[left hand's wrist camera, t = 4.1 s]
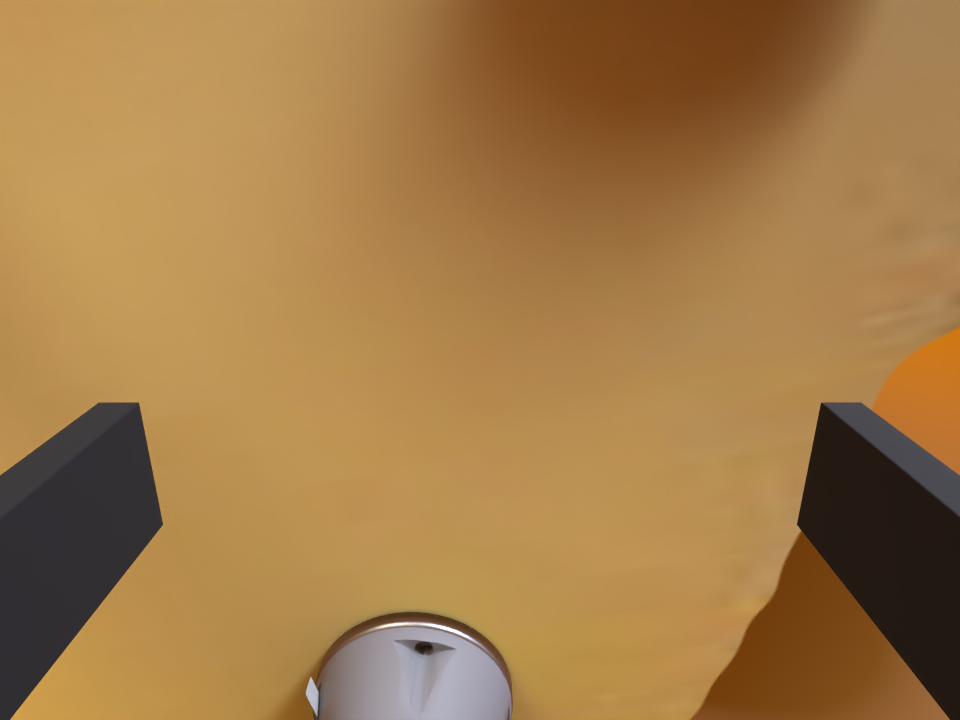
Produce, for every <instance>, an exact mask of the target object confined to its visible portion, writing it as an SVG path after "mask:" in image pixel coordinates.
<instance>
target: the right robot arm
mask: <svg viewBox="0 0 960 720" xmlns="http://www.w3.org/2000/svg"><path fill="white" fill-rule="evenodd" d="M305 694H306V696H307V698H308V700H309V702H310V704H311V706H312V708H313V716H314V720H511V714H512V704H513V703H512V686H511V678H510V673H509V670H508V668H507V665H506V663H505V661H504V659H503V657H502V656H501V654H500V653H499V651H498V650H497V649H496V648H495V646H494V645H493V644H492V643H491V642H490V641H489V640H488V639H486V638H485V637H484V636H483V635H482V634H480V633H479V632H477V631H476V630H474V629H472V628H471V627H469V626H467V625H465V624H463V623H461V622H458V621H456V620H453V619H450V618H447V617H443V616H439V615H434V614H429V613H418V612H406V613H395V614H388V615H384V616H379V617H376V618H373V619H370V620H368V621H365V622H363V623H361V624H359V625H357V626H355V627H353V628H352V629H350V630H349V631H347V632H346V633H344V634H343V635H342V636H341V637H340V638H339V639H338V640H337V641H336V642H335V643H334V644H333V645H332V646H331V647H330V649H329V650H328V652H327V653H326V655H325V657H324V659H323V661H322V663H321V666H320V669H319V673H318V676H317V680H316V683H315V684H314V682H313V680H312V678H311V677H310V680H309V684H308V687H307V690H306V693H305Z"/></svg>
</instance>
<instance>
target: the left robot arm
mask: <svg viewBox="0 0 960 720" xmlns="http://www.w3.org/2000/svg"><path fill="white" fill-rule="evenodd" d="M162 525H163V522H162V517H161V512H160V507H159V502H158V497H157V492H156V487H155V482H154V477H153V472H152V467H151V462H150V457H149V452H148V446H147V441H146V436H145V431H144V426H143V421H142V416H141V411H140V406H139V403H98V404H96V405H95V406H94V407H92V408H91V409H90V410H88V411H87V412H86V413H84V414H83V415H82V416H80V417H79V418H78V419H76V420H75V421H73V422H72V423H71V424H69V425H68V426H67V427H65V428H64V429H63V430H61V431H60V432H59V433H57V434H56V435H55V436H53V437H52V438H50V439H49V440H48V441H46V442H45V443H44V444H42V445H41V446H40V447H38V448H37V449H36V450H34V451H33V452H32V453H30V454H29V455H28V456H26V457H25V458H23V459H22V460H21V461H19V462H18V463H17V464H15V465H14V466H13V467H11V468H10V469H9V470H7V471H6V472H5V473H3V474H2V475H0V720H10V719H11V717H12V716H13V715H14V714H15V712H16V711H17V710H18V709H19V707H20V706H21V705H22V703H23V702H24V701H25V700H26V698H27V697H28V696H29V695H30V693H31V692H32V691H33V689H34V688H35V687H36V686H37V684H38V683H39V682H40V681H41V679H42V678H43V677H44V675H45V674H46V673H47V672H48V670H49V669H50V668H51V667H52V665H53V664H54V663H55V661H56V660H57V659H58V658H59V656H60V655H61V654H62V653H63V651H64V650H65V649H66V647H67V646H68V645H69V644H70V642H71V641H72V640H73V639H74V637H75V636H76V635H77V633H78V632H79V631H80V630H81V628H82V627H83V626H84V625H85V623H86V622H87V621H88V619H89V618H90V617H91V616H92V614H93V613H94V612H95V611H96V609H97V608H98V607H99V605H100V604H101V603H102V602H103V600H104V599H105V598H106V597H107V595H108V594H109V593H110V591H111V590H112V589H113V588H114V586H115V585H116V584H117V583H118V581H119V580H120V579H121V577H122V576H123V575H124V574H125V572H126V571H127V570H128V569H129V567H130V566H131V565H132V563H133V562H134V561H135V560H136V558H137V557H138V556H139V555H140V553H141V552H142V551H143V549H144V548H145V547H146V546H147V544H148V543H149V542H150V540H151V539H152V538H153V537H154V535H155V534H156V533H157V532H158V530H159V529H160V528H161V526H162ZM797 525H798V526H799V528H800V529H801V530H802V532H803V533H804V534H805V535H806V537H807V538H808V539H809V540H810V542H811V543H812V544H813V546H814V547H815V548H816V549H817V551H818V552H819V553H820V554H821V556H822V557H823V558H824V560H825V561H826V562H827V563H828V565H829V566H830V567H831V569H832V570H833V571H834V572H835V574H836V575H837V576H838V577H839V579H840V580H841V581H842V582H843V584H844V585H845V586H846V588H847V589H848V590H849V591H850V593H851V594H852V595H853V596H854V598H855V599H856V600H857V602H858V603H859V604H860V605H861V607H862V608H863V609H864V610H865V612H866V613H867V614H868V616H869V617H870V618H871V619H872V621H873V622H874V623H875V625H876V626H877V627H878V628H879V630H880V631H881V632H882V633H883V635H884V636H885V637H886V639H887V640H888V641H889V642H890V644H891V645H892V646H893V647H894V649H895V650H896V651H897V652H898V654H899V655H900V656H901V658H902V659H903V660H904V661H905V663H906V664H907V665H908V667H909V668H910V669H911V670H912V672H913V673H914V674H915V675H916V677H917V678H918V679H919V681H920V682H921V683H922V684H923V686H924V687H925V688H926V689H927V691H928V692H929V693H930V695H931V696H932V697H933V698H934V700H935V701H936V702H937V703H938V705H939V706H940V707H941V709H942V710H943V711H944V712H945V714H946V715H947V716H948V717H949V719H950V720H960V475H958V474H957V473H955V472H954V471H953V470H951V469H950V468H949V467H947V466H946V465H945V464H943V463H942V462H941V461H939V460H938V459H937V458H935V457H934V456H932V455H931V454H930V453H928V452H927V451H926V450H924V449H923V448H922V447H920V446H919V445H918V444H916V443H915V442H914V441H912V440H911V439H910V438H908V437H907V436H905V435H904V434H903V433H901V432H900V431H899V430H897V429H896V428H895V427H893V426H892V425H891V424H889V423H888V422H887V421H885V420H884V419H882V418H881V417H880V416H878V415H877V414H876V413H874V412H873V411H872V410H870V409H869V408H868V407H866V406H865V405H864V404H862V403H821V406H820V411H819V416H818V421H817V426H816V431H815V436H814V441H813V446H812V452H811V457H810V462H809V467H808V472H807V477H806V482H805V487H804V492H803V497H802V502H801V507H800V512H799V517H798V522H797Z"/></svg>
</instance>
